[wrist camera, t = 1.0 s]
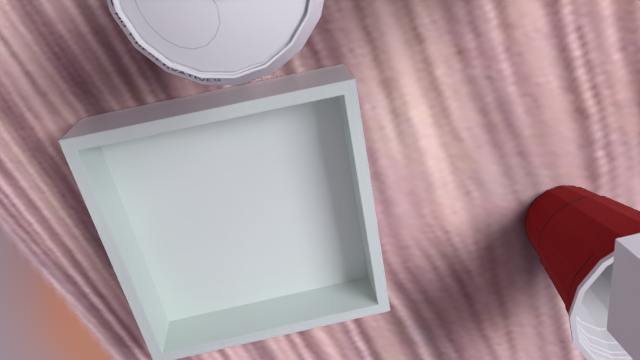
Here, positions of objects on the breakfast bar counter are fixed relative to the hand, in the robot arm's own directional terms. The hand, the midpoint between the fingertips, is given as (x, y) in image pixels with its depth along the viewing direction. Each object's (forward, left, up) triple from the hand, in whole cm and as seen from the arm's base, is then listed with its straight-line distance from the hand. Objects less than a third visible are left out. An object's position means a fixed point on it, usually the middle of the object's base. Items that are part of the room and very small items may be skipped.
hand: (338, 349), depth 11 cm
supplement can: (-8, -1, -25) cm, 26 cm away
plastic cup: (+15, +20, -25) cm, 35 cm away
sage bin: (+8, -4, -25) cm, 26 cm away
